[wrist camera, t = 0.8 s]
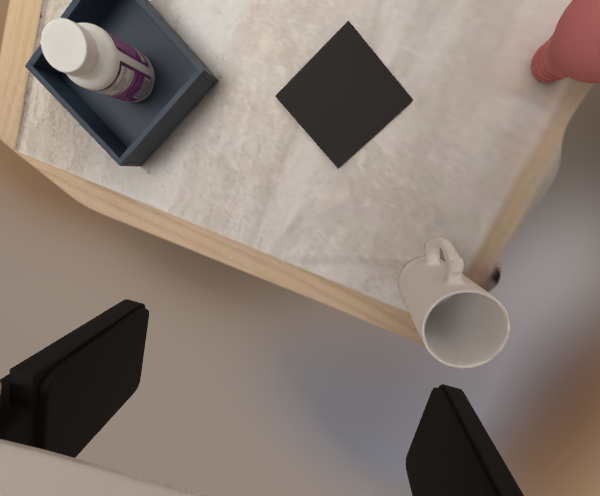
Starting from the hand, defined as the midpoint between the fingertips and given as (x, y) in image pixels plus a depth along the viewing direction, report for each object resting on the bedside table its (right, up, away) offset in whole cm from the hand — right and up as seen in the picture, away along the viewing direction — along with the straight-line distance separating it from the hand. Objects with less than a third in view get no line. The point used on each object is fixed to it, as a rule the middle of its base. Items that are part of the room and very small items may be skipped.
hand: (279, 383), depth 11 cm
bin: (-17, +23, +26) cm, 39 cm away
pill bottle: (-17, +23, +26) cm, 38 cm away
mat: (+5, +20, +24) cm, 32 cm away
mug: (+15, +2, +27) cm, 31 cm away
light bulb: (+24, +22, +22) cm, 39 cm away
